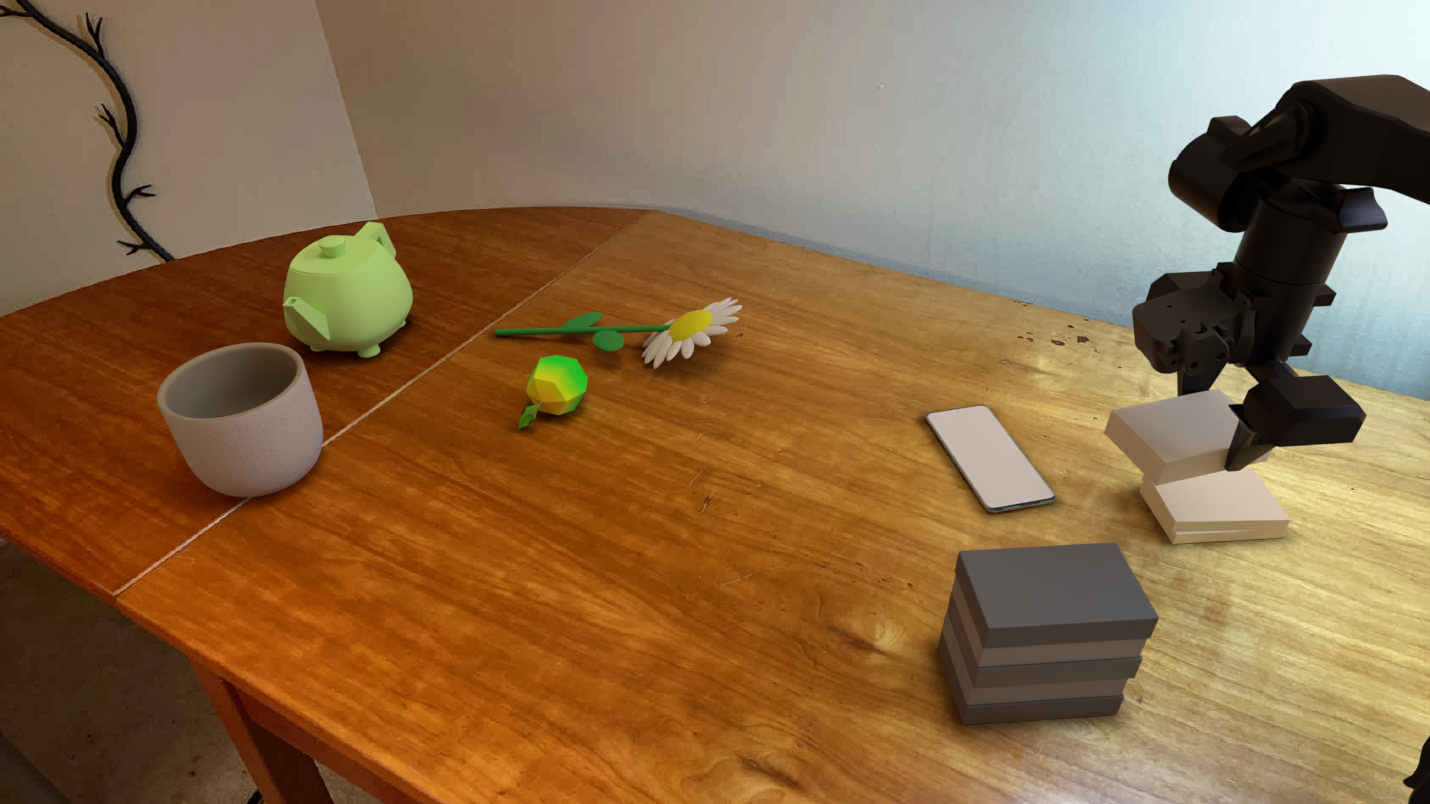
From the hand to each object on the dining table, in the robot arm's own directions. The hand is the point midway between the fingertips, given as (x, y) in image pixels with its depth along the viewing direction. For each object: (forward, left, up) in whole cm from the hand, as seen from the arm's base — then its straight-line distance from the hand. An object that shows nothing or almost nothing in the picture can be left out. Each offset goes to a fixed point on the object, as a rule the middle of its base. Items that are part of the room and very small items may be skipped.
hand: (1206, 439), depth 71 cm
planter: (+18, +82, -13) cm, 85 cm away
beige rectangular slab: (+5, -7, -13) cm, 16 cm away
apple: (+25, +54, -13) cm, 61 cm away
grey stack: (-12, +16, -13) cm, 24 cm away
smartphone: (+14, +11, -13) cm, 22 cm away
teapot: (+42, +79, -13) cm, 90 cm away
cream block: (-1, +2, 0) cm, 2 cm away
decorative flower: (+37, +48, -13) cm, 62 cm away
